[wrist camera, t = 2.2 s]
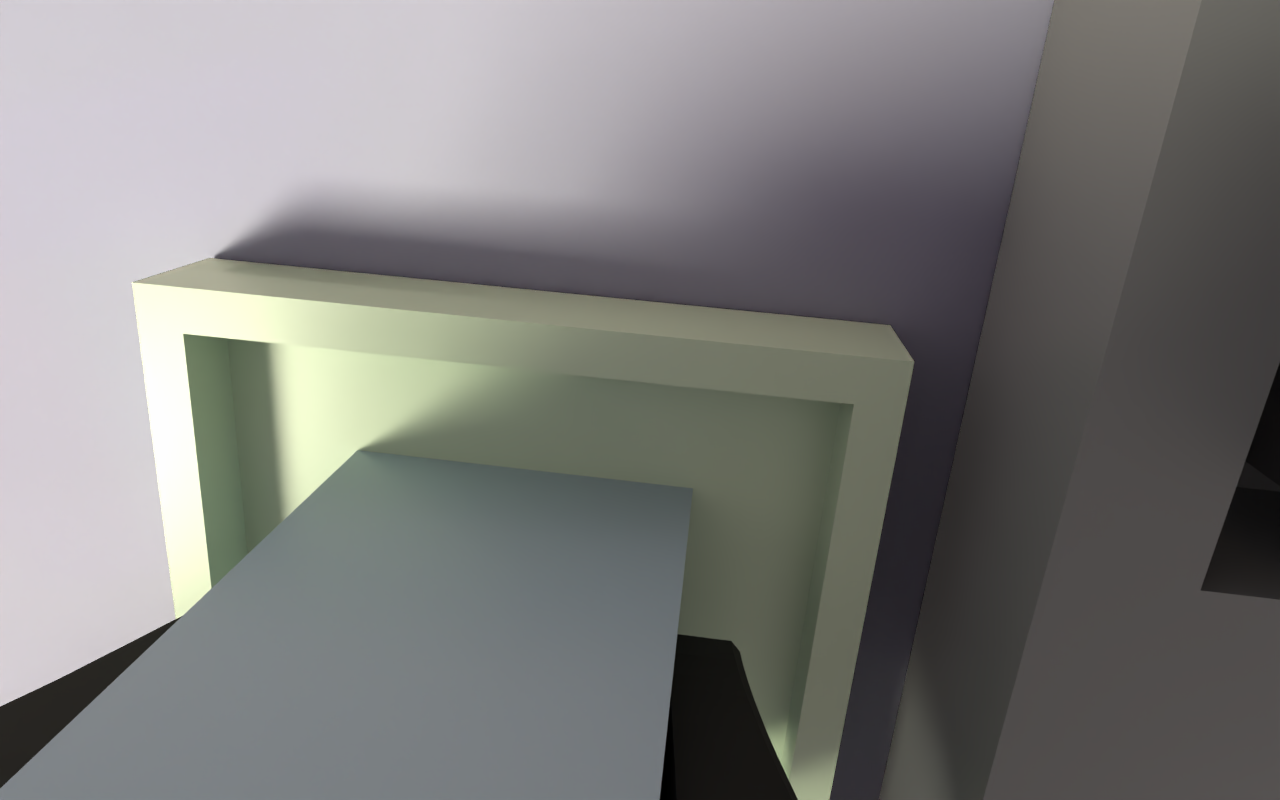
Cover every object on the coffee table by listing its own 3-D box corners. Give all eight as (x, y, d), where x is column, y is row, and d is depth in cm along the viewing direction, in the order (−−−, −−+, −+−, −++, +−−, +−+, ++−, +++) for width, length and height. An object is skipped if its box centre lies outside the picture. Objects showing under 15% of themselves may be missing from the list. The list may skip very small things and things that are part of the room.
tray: (261, 784, 13) (207, 861, 12) (208, 257, 10) (132, 281, 9) (793, 859, 12) (799, 951, 11) (889, 325, 10) (915, 361, 8)
